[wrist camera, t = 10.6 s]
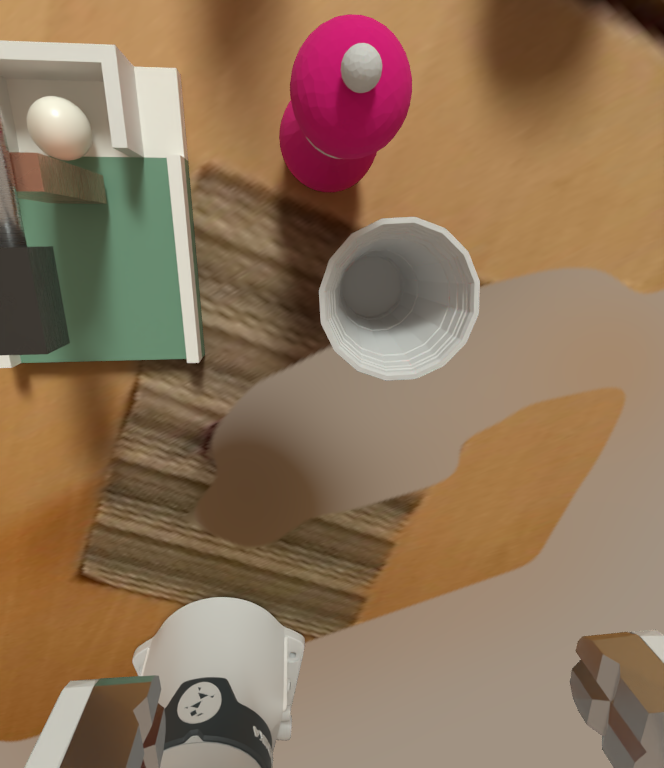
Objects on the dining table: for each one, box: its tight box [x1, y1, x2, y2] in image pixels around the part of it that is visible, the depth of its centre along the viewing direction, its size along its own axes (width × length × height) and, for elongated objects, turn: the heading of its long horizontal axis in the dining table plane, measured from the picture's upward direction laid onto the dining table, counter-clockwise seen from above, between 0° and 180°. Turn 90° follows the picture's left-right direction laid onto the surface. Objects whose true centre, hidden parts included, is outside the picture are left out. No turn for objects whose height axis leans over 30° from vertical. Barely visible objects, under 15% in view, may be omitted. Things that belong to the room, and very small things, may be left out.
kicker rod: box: [0, 108, 107, 355], centre depth 29 cm, size 23×4×12 cm, turn 0°
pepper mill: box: [279, 15, 412, 192], centre depth 28 cm, size 7×7×20 cm
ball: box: [27, 96, 92, 161], centre depth 33 cm, size 4×4×4 cm
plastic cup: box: [319, 217, 480, 381], centre depth 36 cm, size 11×11×12 cm
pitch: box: [0, 41, 205, 368], centre depth 35 cm, size 22×16×6 cm
